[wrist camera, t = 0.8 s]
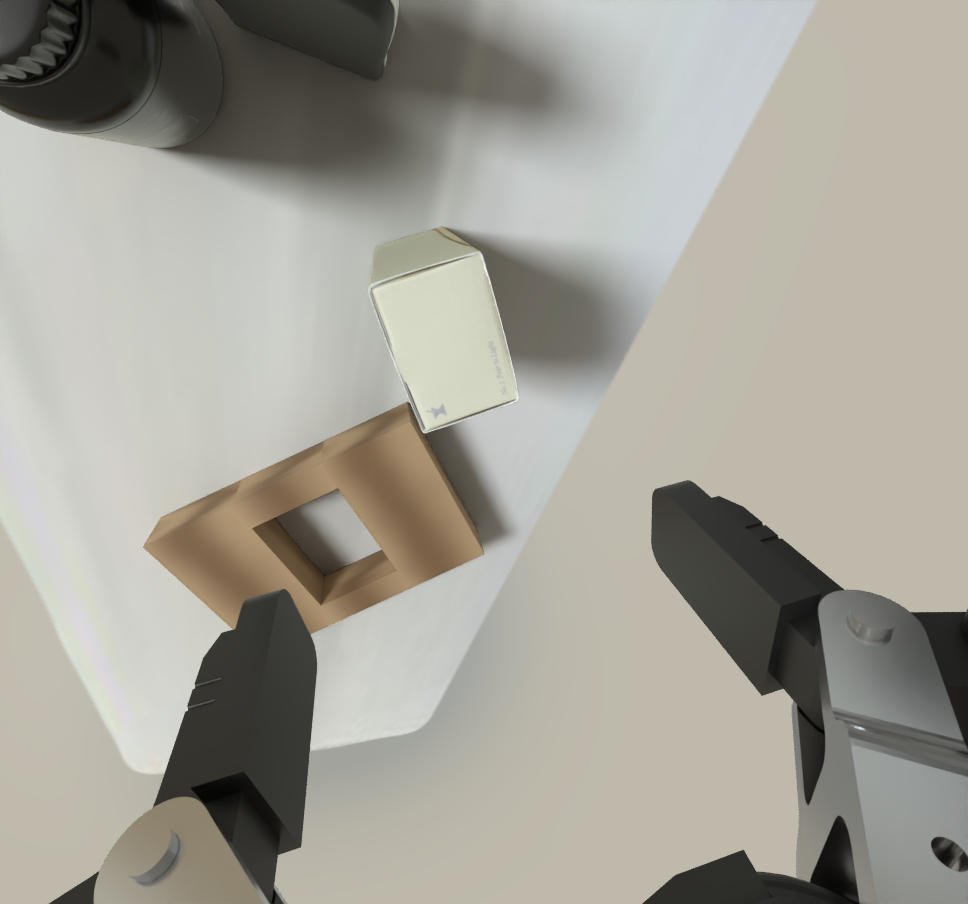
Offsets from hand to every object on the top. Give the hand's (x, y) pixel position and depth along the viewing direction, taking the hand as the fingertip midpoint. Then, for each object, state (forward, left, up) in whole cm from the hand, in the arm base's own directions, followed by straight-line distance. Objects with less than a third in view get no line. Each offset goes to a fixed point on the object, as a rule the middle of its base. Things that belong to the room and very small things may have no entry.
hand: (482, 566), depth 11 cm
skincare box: (-1, -1, -22) cm, 22 cm away
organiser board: (+12, +11, -22) cm, 27 cm away
